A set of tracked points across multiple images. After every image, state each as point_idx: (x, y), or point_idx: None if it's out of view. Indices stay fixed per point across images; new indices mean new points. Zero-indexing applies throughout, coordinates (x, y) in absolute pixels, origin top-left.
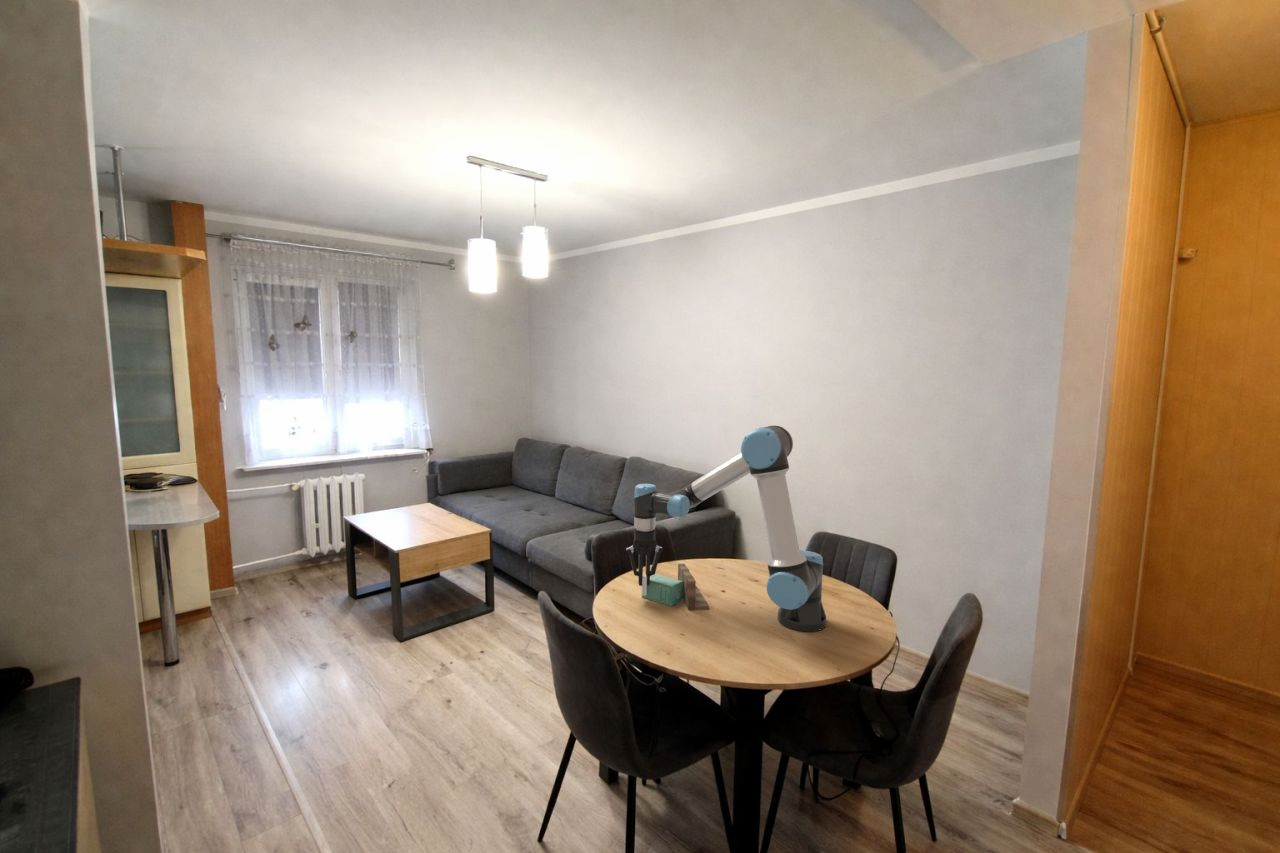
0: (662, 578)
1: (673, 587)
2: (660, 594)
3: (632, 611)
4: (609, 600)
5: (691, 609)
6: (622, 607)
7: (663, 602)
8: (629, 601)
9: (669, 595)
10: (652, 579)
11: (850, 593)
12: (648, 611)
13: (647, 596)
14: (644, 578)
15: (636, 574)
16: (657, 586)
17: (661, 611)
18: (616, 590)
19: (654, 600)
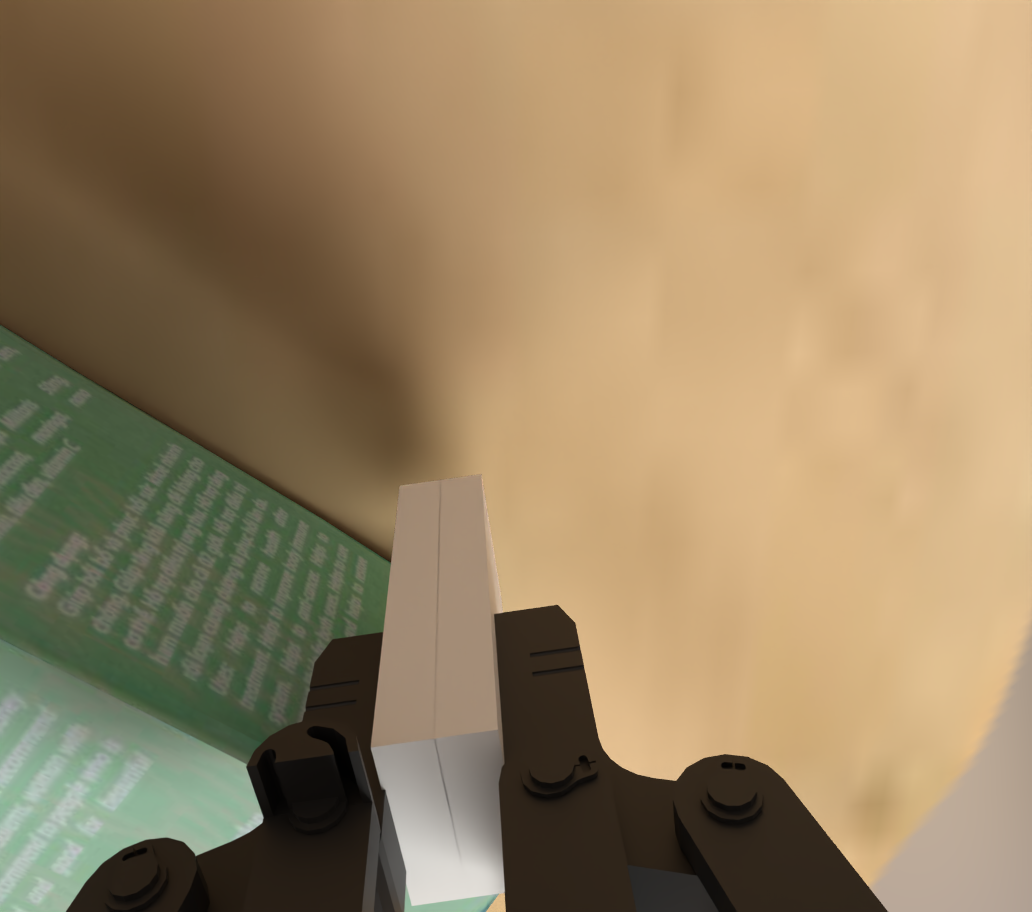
0: (14, 888)
1: None
2: (103, 484)
3: (663, 31)
4: (1000, 486)
5: None
6: (831, 218)
7: (83, 384)
8: (688, 465)
9: None
10: (250, 823)
11: None
12: (349, 37)
13: None
14: (439, 717)
15: (709, 780)
16: (130, 616)
17: (84, 42)
18: (842, 801)
19: (267, 489)
